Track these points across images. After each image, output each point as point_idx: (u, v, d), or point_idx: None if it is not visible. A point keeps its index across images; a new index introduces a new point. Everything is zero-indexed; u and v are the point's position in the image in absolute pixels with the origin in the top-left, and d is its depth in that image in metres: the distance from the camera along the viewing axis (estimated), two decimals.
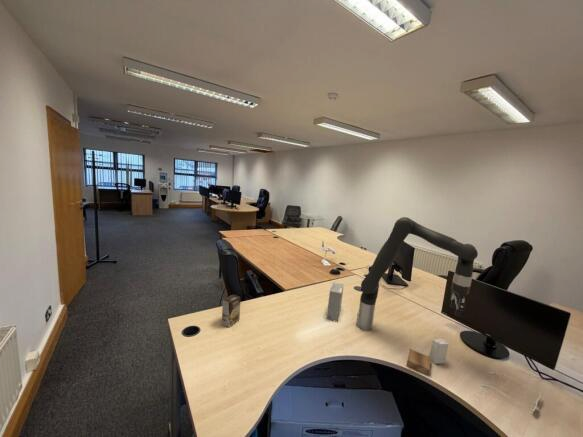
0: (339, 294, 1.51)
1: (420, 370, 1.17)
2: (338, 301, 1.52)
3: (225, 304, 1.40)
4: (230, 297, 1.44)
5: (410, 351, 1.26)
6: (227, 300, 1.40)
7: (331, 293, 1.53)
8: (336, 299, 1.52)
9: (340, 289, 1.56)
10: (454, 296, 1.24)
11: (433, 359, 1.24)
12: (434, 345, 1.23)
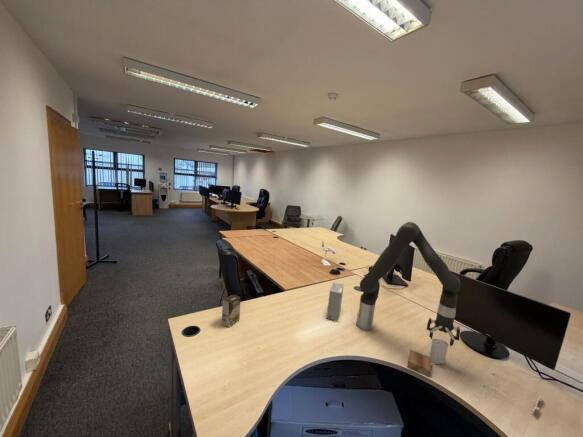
0: (339, 294, 1.51)
1: (421, 371, 1.16)
2: (338, 301, 1.52)
3: (225, 304, 1.40)
4: (230, 297, 1.44)
5: (411, 352, 1.26)
6: (227, 300, 1.40)
7: (331, 293, 1.53)
8: (336, 299, 1.52)
9: (340, 289, 1.56)
10: None
11: (433, 359, 1.24)
12: (434, 345, 1.23)
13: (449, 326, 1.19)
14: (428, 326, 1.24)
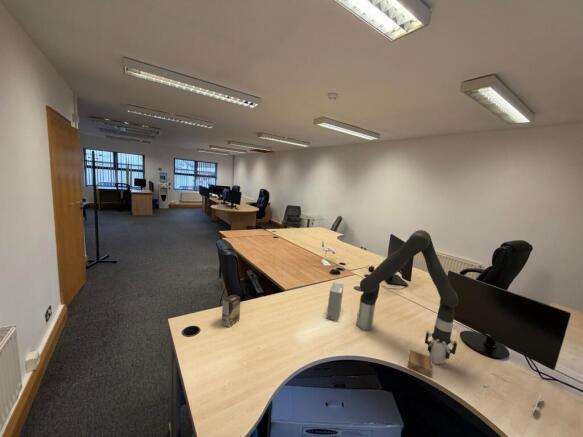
0: (339, 294, 1.51)
1: (421, 371, 1.16)
2: (338, 301, 1.52)
3: (225, 304, 1.40)
4: (230, 297, 1.44)
5: (411, 352, 1.26)
6: (227, 300, 1.40)
7: (331, 293, 1.53)
8: (336, 299, 1.52)
9: (340, 289, 1.56)
10: None
11: (433, 359, 1.24)
12: (434, 345, 1.23)
13: (446, 340, 1.21)
14: (426, 340, 1.26)
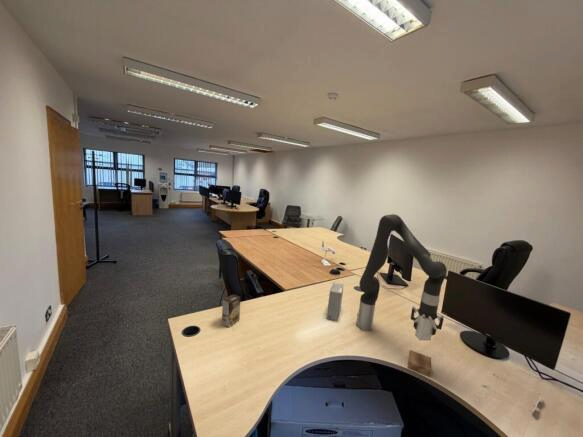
0: (339, 294, 1.51)
1: (422, 371, 1.16)
2: (338, 301, 1.52)
3: (225, 304, 1.40)
4: (230, 297, 1.44)
5: (410, 352, 1.26)
6: (227, 300, 1.40)
7: (331, 293, 1.53)
8: (336, 299, 1.52)
9: (340, 289, 1.56)
10: None
11: (419, 335, 1.18)
12: (420, 321, 1.18)
13: (432, 315, 1.15)
14: (412, 316, 1.20)
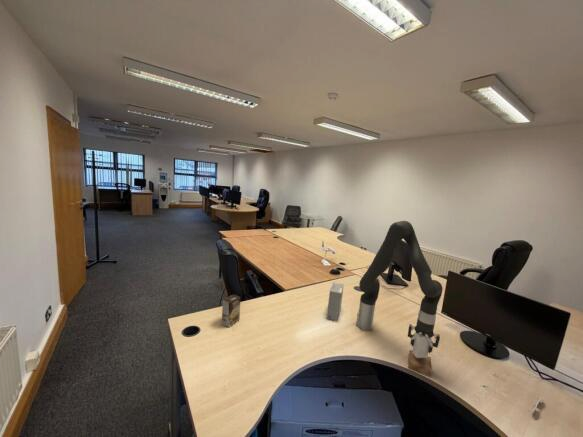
0: (339, 294, 1.51)
1: (422, 371, 1.16)
2: (338, 301, 1.52)
3: (225, 304, 1.40)
4: (230, 297, 1.44)
5: (410, 352, 1.25)
6: (227, 300, 1.40)
7: (331, 293, 1.53)
8: (336, 299, 1.52)
9: (340, 289, 1.56)
10: (419, 334, 1.19)
11: (416, 353, 1.20)
12: (417, 338, 1.19)
13: (429, 333, 1.17)
14: (409, 333, 1.22)
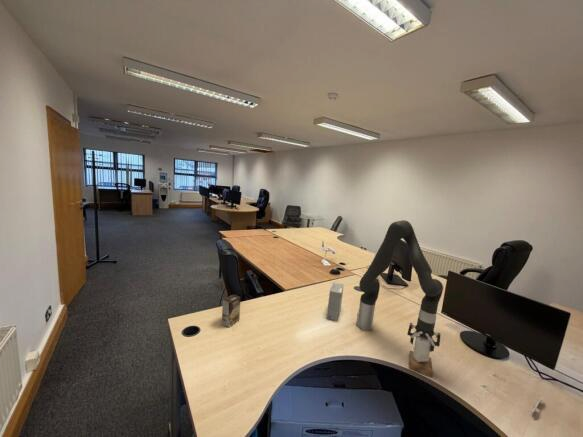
0: (339, 294, 1.51)
1: (423, 372, 1.16)
2: (338, 301, 1.52)
3: (225, 304, 1.40)
4: (230, 297, 1.44)
5: (411, 353, 1.25)
6: (227, 300, 1.40)
7: (331, 293, 1.53)
8: (336, 299, 1.52)
9: (340, 289, 1.56)
10: None
11: (417, 357, 1.19)
12: (417, 342, 1.19)
13: (429, 332, 1.16)
14: (409, 331, 1.22)
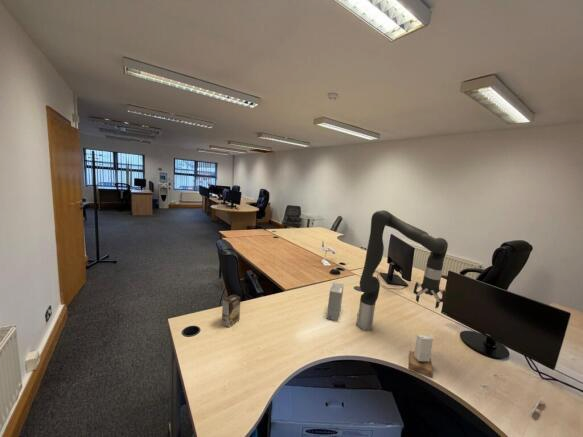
0: (339, 294, 1.51)
1: (422, 372, 1.16)
2: (338, 301, 1.52)
3: (225, 304, 1.40)
4: (230, 297, 1.44)
5: (410, 353, 1.25)
6: (227, 300, 1.40)
7: (331, 293, 1.53)
8: (336, 299, 1.52)
9: (340, 289, 1.56)
10: None
11: (418, 356, 1.19)
12: (418, 340, 1.20)
13: (435, 289, 1.21)
14: (415, 290, 1.26)
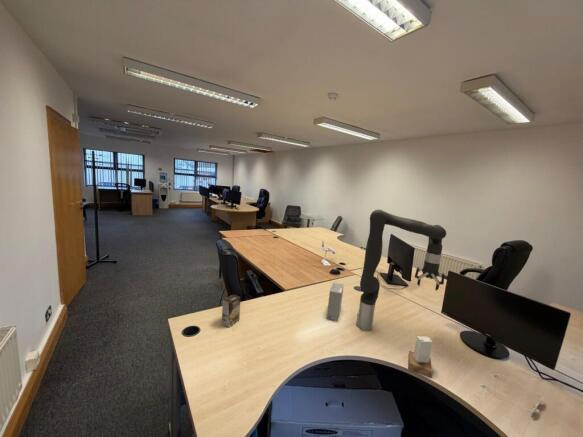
0: (339, 294, 1.51)
1: (422, 372, 1.16)
2: (338, 301, 1.52)
3: (225, 304, 1.40)
4: (230, 297, 1.44)
5: (410, 353, 1.25)
6: (227, 300, 1.40)
7: (331, 293, 1.53)
8: (336, 299, 1.52)
9: (340, 289, 1.56)
10: (425, 275, 1.33)
11: (417, 357, 1.19)
12: (418, 343, 1.19)
13: (435, 272, 1.31)
14: (416, 274, 1.36)
